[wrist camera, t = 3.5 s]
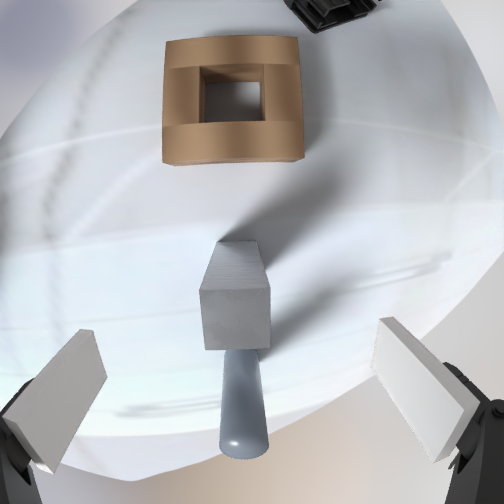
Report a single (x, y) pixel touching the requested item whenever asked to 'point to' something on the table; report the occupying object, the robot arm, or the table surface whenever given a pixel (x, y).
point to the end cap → (329, 12)
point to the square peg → (235, 298)
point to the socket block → (223, 71)
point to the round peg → (242, 406)
